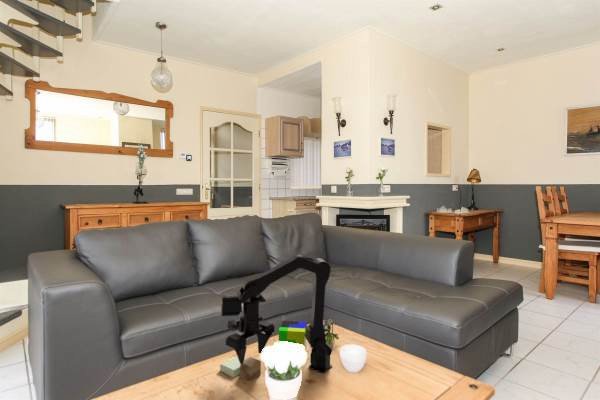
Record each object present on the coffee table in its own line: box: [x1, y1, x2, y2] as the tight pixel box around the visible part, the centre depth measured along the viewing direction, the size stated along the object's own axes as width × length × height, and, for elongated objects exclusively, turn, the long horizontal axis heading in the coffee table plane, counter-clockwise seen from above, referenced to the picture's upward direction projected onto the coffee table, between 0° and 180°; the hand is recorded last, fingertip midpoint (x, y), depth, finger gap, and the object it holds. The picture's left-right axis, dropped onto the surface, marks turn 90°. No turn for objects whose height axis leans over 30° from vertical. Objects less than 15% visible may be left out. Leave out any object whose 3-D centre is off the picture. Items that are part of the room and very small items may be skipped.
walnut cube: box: [239, 356, 262, 382], centre depth 127 cm, size 5×5×5 cm
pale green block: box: [219, 356, 240, 378], centre depth 131 cm, size 7×7×2 cm
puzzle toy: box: [278, 320, 308, 348], centre depth 146 cm, size 10×10×10 cm
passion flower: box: [323, 318, 340, 345], centre depth 155 cm, size 11×11×12 cm
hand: (250, 358), depth 127 cm, fingers open, 9 cm apart
